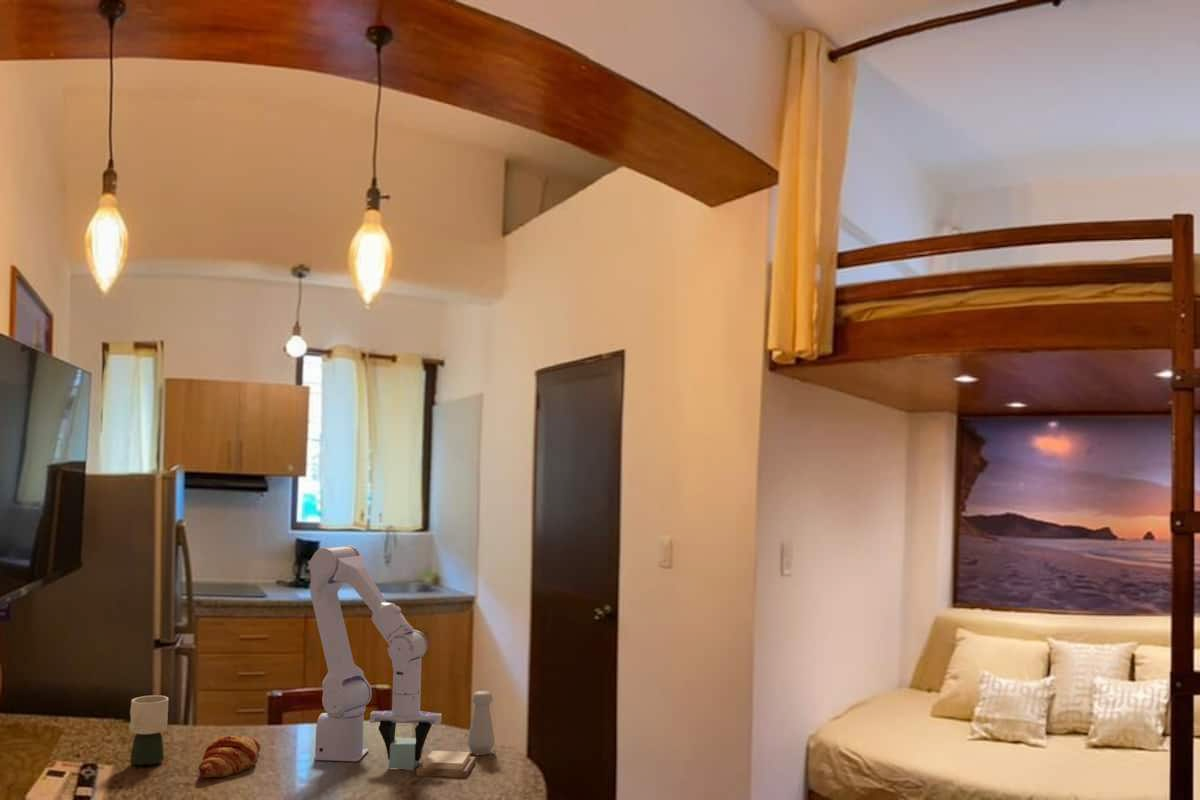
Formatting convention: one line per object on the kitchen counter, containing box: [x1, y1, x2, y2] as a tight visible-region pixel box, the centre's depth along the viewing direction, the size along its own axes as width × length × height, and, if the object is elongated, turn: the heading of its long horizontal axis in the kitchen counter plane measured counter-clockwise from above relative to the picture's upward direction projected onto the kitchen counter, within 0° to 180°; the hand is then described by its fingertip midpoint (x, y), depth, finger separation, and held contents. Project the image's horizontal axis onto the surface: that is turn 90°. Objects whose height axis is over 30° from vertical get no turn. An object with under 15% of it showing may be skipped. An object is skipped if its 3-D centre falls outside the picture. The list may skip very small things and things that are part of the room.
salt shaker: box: [467, 690, 496, 756], centre depth 216 cm, size 6×6×13 cm
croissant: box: [198, 735, 262, 778], centre depth 203 cm, size 21×10×8 cm, turn 171°
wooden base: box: [416, 750, 476, 778], centre depth 204 cm, size 10×10×2 cm
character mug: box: [128, 695, 169, 767], centre depth 204 cm, size 11×7×13 cm, turn 169°
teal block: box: [388, 736, 420, 771], centre depth 206 cm, size 5×5×5 cm
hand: (404, 758), depth 206 cm, fingers closed on teal block, 5 cm apart
